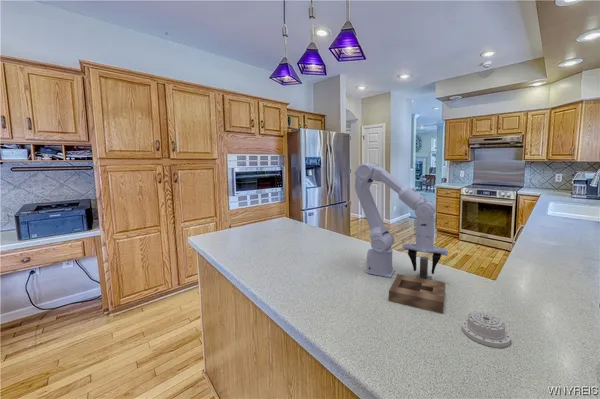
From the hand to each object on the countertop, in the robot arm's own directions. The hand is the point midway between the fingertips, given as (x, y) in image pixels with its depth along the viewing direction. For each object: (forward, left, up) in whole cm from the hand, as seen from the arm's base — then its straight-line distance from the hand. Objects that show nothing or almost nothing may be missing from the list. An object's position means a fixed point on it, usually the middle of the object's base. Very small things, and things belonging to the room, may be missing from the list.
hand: (423, 271), depth 94 cm
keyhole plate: (0, -12, -4) cm, 13 cm away
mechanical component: (+16, -25, -4) cm, 30 cm away
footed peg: (0, 0, -4) cm, 4 cm away
